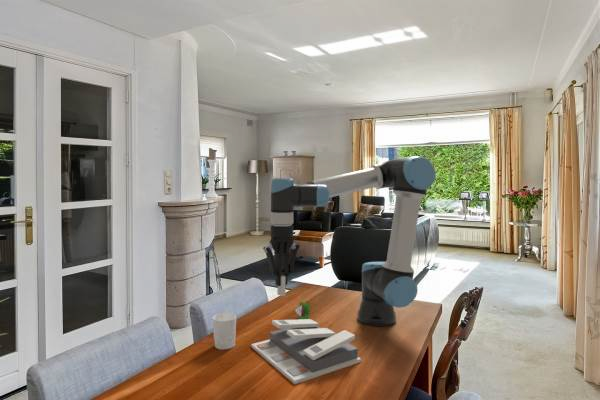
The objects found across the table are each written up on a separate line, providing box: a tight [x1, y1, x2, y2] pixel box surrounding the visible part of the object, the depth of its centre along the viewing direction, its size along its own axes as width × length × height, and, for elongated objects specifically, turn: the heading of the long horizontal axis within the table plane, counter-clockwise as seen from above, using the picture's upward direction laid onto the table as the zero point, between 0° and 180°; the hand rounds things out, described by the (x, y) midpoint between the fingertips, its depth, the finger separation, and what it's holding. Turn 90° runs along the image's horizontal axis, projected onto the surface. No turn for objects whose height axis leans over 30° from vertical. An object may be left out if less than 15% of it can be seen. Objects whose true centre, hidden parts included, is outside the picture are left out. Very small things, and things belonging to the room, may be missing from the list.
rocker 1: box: [271, 318, 319, 330], centre depth 136 cm, size 16×5×1 cm, turn 123°
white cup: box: [212, 312, 237, 351], centre depth 133 cm, size 8×8×10 cm
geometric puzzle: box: [294, 301, 315, 320], centre depth 157 cm, size 7×7×8 cm
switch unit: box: [250, 325, 362, 385], centre depth 126 cm, size 24×28×4 cm
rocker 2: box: [286, 327, 337, 339], centre depth 127 cm, size 16×5×1 cm, turn 123°
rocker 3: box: [303, 329, 356, 360], centre depth 119 cm, size 16×5×1 cm, turn 122°
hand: (281, 294), depth 131 cm, fingers closed
